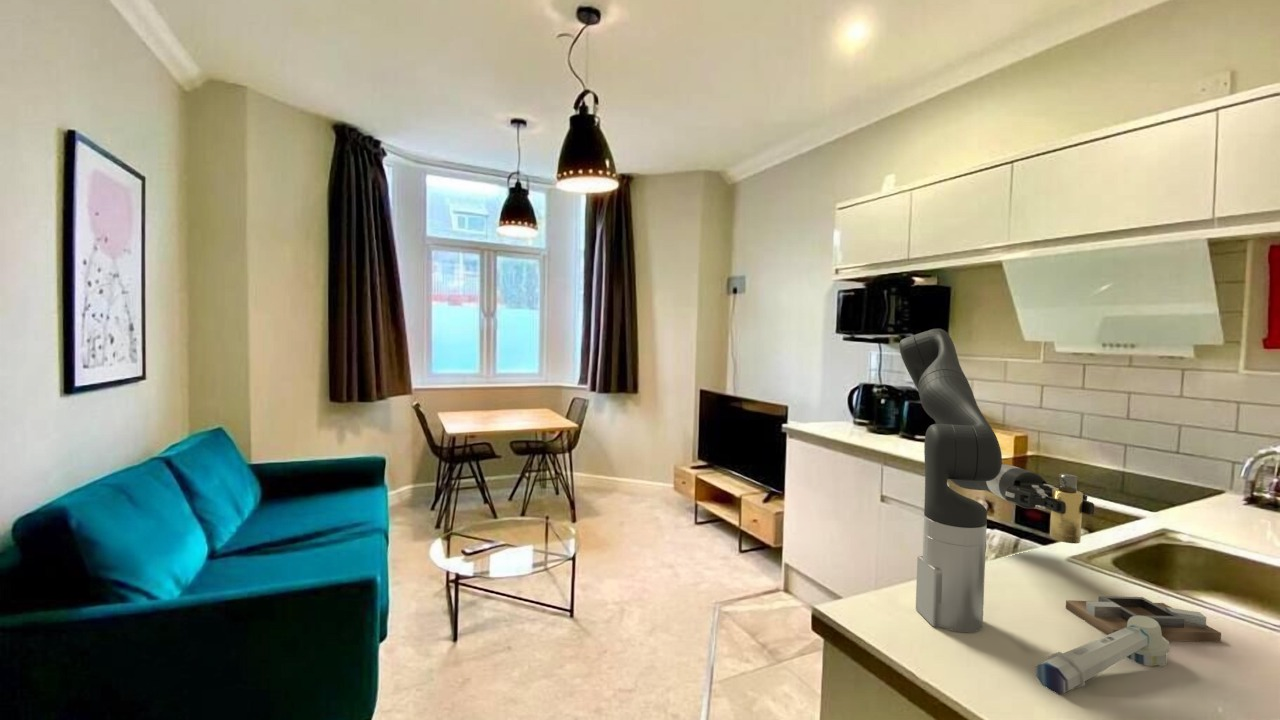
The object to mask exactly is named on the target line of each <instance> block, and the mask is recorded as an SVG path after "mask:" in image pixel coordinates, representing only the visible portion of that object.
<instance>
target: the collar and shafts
mask: <svg viewBox="0 0 1280 720" xmlns="http://www.w3.org/2000/svg"><path fill="white" fill-rule="evenodd" d="M1085 601H1086V612H1087V613H1089V614H1090V615H1092V616H1094V617H1116V618H1122V619H1124V620H1126V621H1128V620H1129V618H1131V617H1132V616H1146V615H1136V614H1134V613H1132V612H1131V611H1129V610H1127V609H1125V608H1124V607H1141V608H1143V609H1145V610H1147V611H1149V612H1151V613H1153V614H1154V615H1156V616H1146V617H1149V618H1152V619H1154V620H1156V621H1157V622H1158V623H1159V625H1160V627H1166V628H1184V625H1189V626H1195V627H1201V628H1206V625H1207V616H1206V615H1204V614H1203V613H1202V612H1199V611H1194V610H1188V609H1180V608H1174V607H1172V608H1168V607H1166V609H1164V608H1163V607H1161V606H1159V605H1157V604H1155V603H1156V602H1153V601H1151V600H1149V599H1148V598H1145V597H1143V596H1122V595H1121V596H1120V595H1119V596H1115V595H1114V596H1113V595H1111V596H1110V595H1098V599H1097V601H1098V602H1094V601H1095V600H1085Z"/></svg>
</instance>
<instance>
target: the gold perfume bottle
mask: <svg viewBox="0 0 1280 720" xmlns="http://www.w3.org/2000/svg"><path fill="white" fill-rule="evenodd" d="M1058 475H1059V476H1058V477H1059V478H1058V487H1055V488H1053V489H1052V497H1053V498H1055V499H1058V500H1061V501H1063V502H1065V504H1066V509H1065V514H1059V513H1057V512H1054V511H1052V510H1050V526H1049V529H1050V530H1049V531H1050V532H1049V537H1050V538H1051V539H1053V540H1055V541H1058V542H1062V543H1067V544H1080V543H1081V536H1082V535H1081V533H1082V520H1083V518H1082V517H1083V512H1082V501H1083V494H1084V493H1083V492H1081V491H1080V490H1079V491H1078V489H1077V488H1078V487H1077V485H1078V476H1077V475H1075V474H1071V473H1070V474H1069V473H1059V474H1058ZM1076 490H1077V491H1076Z"/></svg>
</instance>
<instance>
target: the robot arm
mask: <svg viewBox="0 0 1280 720" xmlns="http://www.w3.org/2000/svg"><path fill="white" fill-rule="evenodd" d="M898 344H899V353H900V356H901V359H902V362H903V364H904V367H905V368H906V370H907V372H908V375H909V376H910V377H911V379H912V382H913V383H914V386H915V387H916V389H917V391H918V395H919V399H920V404H921V406H922V408H923V411H925V413H926V414H927V415H928V416H929V417H930V418H931V419H933V421H934V422H935V423H933V424H931V425H929V426H928V427H927V429H926V432H925V436H924V446H923V449H924V451H923V453H924V504H923V505H924V506H923V507H924V508H923V509H924V510H923V534H922V535H923V536H922V555H919V556H917V560H916V561H917V562H916V586H915V587H916V588H915V610H916V611H917V613H919V614H920V615H921V616H922V617H923V618H924V619H925V620H926V621H927V622H928V623H929V624H930V625H931V626H932V627H934V628H935V627H937V628H938V627H940V628H943V629H946V630H950V631H954V632H960V633H961V632H962V633H972V632H973V633H974V632H978V631H980V630H982V628H983V621H984V599H985V597H984V596H985V595H984V594H985V575H986V574H985V573H986V571H985V570H986V549H987V547H986V545H987V526H988V525H987V522H988V521H987V520H988V512H987V508H986V507H985V505H983V504H982V503H980V502H979V501H977V500H974V499H972V498H970V497H967V496H965V495H963V494H960V493H958V492H956V491H955V490H953V488H951V487H950V486H949V485H948V480H950V481H951V482H952V483H953V484H955V485H956V486H958V487H960V488H963V489H967V490H975V491H987V492H988V493H991V494H994V495H996V496H997V497H998V498H1001V499H1003V500H1005V501H1006V502H1009V503H1011V504H1013V505H1017V506H1018V507H1021V508H1024V509H1034V508H1040V509H1043V510H1046V509H1047V510H1050V511H1051V510H1052V511H1054V512H1057V513H1059V514H1065V509H1066V504H1065V502H1063V501H1061V500H1058V499H1055V498H1053V497H1052V489H1053V488H1056V487H1055V486H1054V485H1052V484H1048V483H1047V481H1046V480H1045V479H1044V477H1043V476H1041V475H1040V474H1038V473H1036V472H1033V471H1029V470H1026V469H1024V468H1021V467H1017V466H1016V465H1015V466H1014V465H1010V464H1005V463H1003V460H1002V459H1003V458H1002V456H1003V455H1002V450H1001V446H1000V443H999V440H998V437H997V434H996V433H995V431H994V430H993V428H992V426H991V424H990V423H989V422H988V420H987V419H986V418H985V417H986V416H984V414H983V413H982V412H981V410H980V408H979V405H978V403H977V401H976V399H975V398H976V397H975V396H974V393H973V390H972V388H971V387H972V386H971V385H970V383H969V381H968V379H967V377H966V374H965V373H964V371H963V369H962V367H961V364H960V360H959V357H958V354H957V349H956V347H955V344H954V341H953V339H952V338H951V336H950V335H949V333H948V332H947V331H946V330H944V329H942V328H932V329H929V330H925V331H923V332H920V333H916V334H913V335H910V336H908V337H905V338H902V339H901V340H900V342H899V343H898ZM1076 491H1078V489H1076ZM1082 514H1086V515H1095V504H1094V503H1093V502H1092V501H1089V500H1088V495H1087V494H1084V493H1083V501H1082Z"/></svg>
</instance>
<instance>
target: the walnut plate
mask: <svg viewBox="0 0 1280 720" xmlns="http://www.w3.org/2000/svg"><path fill="white" fill-rule="evenodd" d="M1086 601H1087V600H1068V599H1066V600H1065V609H1066V610H1067V611H1069V612H1071V613H1072V614H1073V615H1074V616H1077V617H1078V618H1079V619H1081V620H1083V621H1084V620H1085V621H1084V622H1086V623H1087V624H1089V625H1090V626H1092V627H1094V628H1096V629H1097V630H1098V631H1099V632H1102V633H1103V634H1104V635H1105V636H1107V635H1109V634H1111V633H1114V632H1116V631H1119V630H1121V629H1124V628H1126V627H1127V622H1128V621H1126V620H1124V619H1122V618H1116V617H1094V616H1092V615H1090V614H1089V613H1087V612H1086ZM1093 601H1094V602H1098V600H1093ZM1154 603H1155V604H1157V605H1159V606H1161V607H1163V608H1164V609H1166V607H1168V608H1173V607H1172V606H1170V605H1168V604H1166V603H1164V602H1154ZM1124 608H1125V609H1127V610H1129V611H1131V612H1132V613H1134V614H1136V615H1146V616H1156V615H1154V614H1153V613H1151V612H1149V611H1147V610H1145V609H1143V608H1141V607H1124ZM1161 633H1162V636H1163V637H1164V638H1165V639H1166V640H1167V641H1169V642H1170V641H1171V642H1173V641H1175V642H1176V641H1177V642H1179V641H1180V642H1205V643H1207V642H1209V643H1211V642H1212V643H1214V642H1215V643H1222V632H1221V631H1218V630H1217V629H1215V628H1213V627H1211V626H1209V625H1207V624H1206V628H1201V627H1195V626H1189V625H1184V628H1166V627H1161Z"/></svg>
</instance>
